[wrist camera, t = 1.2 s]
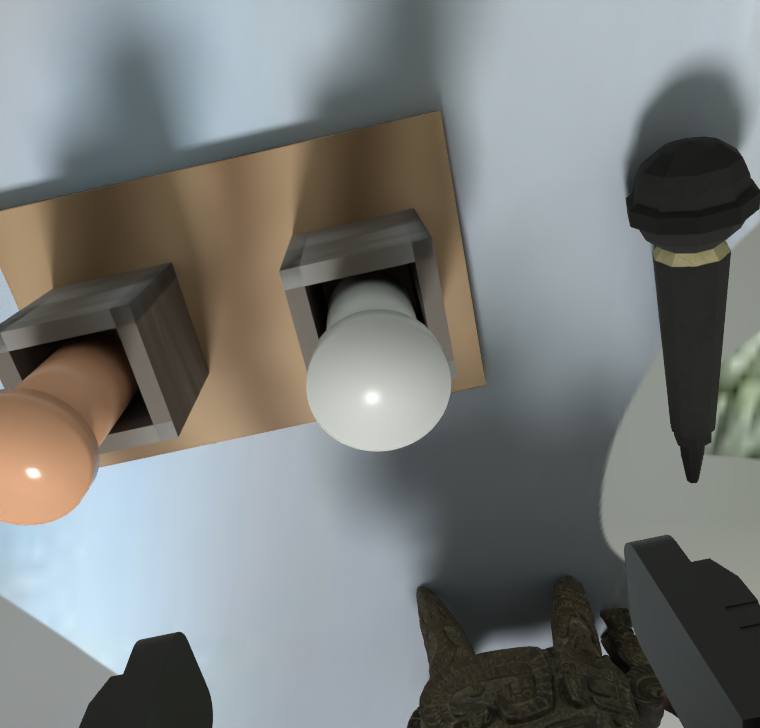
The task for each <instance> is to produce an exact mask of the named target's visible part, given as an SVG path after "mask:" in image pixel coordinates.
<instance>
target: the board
mask: <svg viewBox="0 0 760 728" xmlns="http://www.w3.org/2000/svg"><path fill="white" fill-rule="evenodd" d="M0 268H1V270H2V272H3V275H4V277H5V279H6V281H7V284H8V286H9V288H10V290H11V293H12V295H13V297H14V299H15V302H16V304H17V306H18V309H19V312H17V313H16V314H14V315H13V316H11V317H10V318H8V319H7V320H5V321H4V322H2V323H1V324H0V380H1V382H2V384H3V386H4V388H5V389H8V388H15V387H16V386H17V385H18V384H20V383H21V382H22V381H23V380H24V379H25V378H26V377H27V376H28V375H30V374H31V373H32V372H33V371H34V370H35V369H36V368H37V367H39V366H40V365H41V364H42V363H43V362H44V361H45V360H46V359H47V358H49V357H50V356H51V355H52V354H53V353H54V352H55V351H56V350H57V349H59V348H60V347H61V346H62V345H63V344H64V343H65V342H66V341H68V340H69V339H70V338H72V337H76V336H81V335H85V334H90V333H95V332H99V331H100V332H105V333H109V334H112V335H114V336H116V337H118V338H120V339H121V342H122V344H123V347H124V350H125V352H126V355H127V357H128V360H129V362H130V365H131V368H132V370H133V373H134V375H135V378H136V381H137V383H138V386H139V390H138V391H137V393H136V394H135V396H134V397H133V399H132V400H131V402H130V403H129V404H128V406H127V407H126V409H125V410H124V412H123V413H122V415H121V416H120V417H119V419H118V420H117V422H116V423H115V425H114V426H113V428H112V429H111V430H110V432H109V433H108V435H107V436H106V438H105V439H104V441H103V442H102V443H101V445H100V446H99V453H100V462H99V467H104V466H109V465H113V464H118V463H123V462H128V461H132V460H137V459H142V458H146V457H151V456H156V455H160V454H165V453H170V452H174V451H179V450H184V449H188V448H193V447H198V446H203V445H207V444H212V443H217V442H221V441H226V440H231V439H235V438H240V437H245V436H249V435H254V434H259V433H264V432H268V431H273V430H278V429H282V428H287V427H292V426H296V425H301V424H306V423H310V422H315V421H317V420H316V419H315V417H314V415H313V413H312V412H311V409H310V406H309V403H308V399H307V392H306V382H307V372H308V365H309V361H310V356H311V354H312V351H313V349H314V347H315V345H316V343H317V341H318V340H319V339H320V337H321V336H322V335H323V333H324V332H325V331H326V327H327V314H328V304H329V299H330V297H331V294H332V292H333V291H334V289H335V288H336V286H337V285H338V284H339V283H340V282H341V281H342V280H343V279H345V278H346V277H349V276H353V275H358V274H363V273H367V272H372V271H381V272H384V273H387V274H389V275H391V276H393V277H394V278H396V279H397V280H398V281H399V282H400V283H401V284H402V285H403V286H404V287H405V289H406V291H407V292H408V294H409V297H410V300H411V303H412V306H413V309H414V312H415V315H416V318H417V320H418V321H419V322H421V323H422V324H424V325H425V326H426V327H427V328H428V329H429V330H430V331H431V332H432V333H433V335H434V336H435V337H436V339H437V340H438V342H439V344H440V345H441V348H442V350H443V353H444V355H445V358H446V360H447V363H448V366H449V370H450V375H451V392H456V391H461V390H465V389H470V388H475V387H479V386H484V385H486V383H485V377H484V371H483V365H482V359H481V353H480V347H479V341H478V335H477V329H476V323H475V317H474V311H473V305H472V299H471V293H470V287H469V281H468V274H467V268H466V262H465V256H464V250H463V244H462V238H461V232H460V226H459V220H458V214H457V208H456V202H455V196H454V190H453V184H452V178H451V172H450V165H449V159H448V153H447V147H446V141H445V135H444V129H443V123H442V117H441V111H434V112H430V113H426V114H421V115H417V116H412V117H408V118H404V119H399V120H395V121H390V122H386V123H382V124H377V125H373V126H368V127H364V128H360V129H355V130H351V131H346V132H342V133H338V134H333V135H329V136H324V137H320V138H316V139H311V140H307V141H303V142H298V143H294V144H289V145H285V146H281V147H276V148H272V149H267V150H263V151H259V152H254V153H250V154H245V155H241V156H237V157H232V158H228V159H223V160H219V161H215V162H210V163H206V164H201V165H197V166H193V167H188V168H184V169H179V170H175V171H171V172H166V173H162V174H157V175H153V176H149V177H144V178H140V179H135V180H131V181H127V182H122V183H118V184H113V185H109V186H105V187H100V188H96V189H92V190H87V191H83V192H78V193H74V194H70V195H65V196H61V197H56V198H52V199H48V200H43V201H39V202H34V203H30V204H26V205H21V206H17V207H12V208H8V209H4V210H0ZM451 392H450V393H451Z"/></svg>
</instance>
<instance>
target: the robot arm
mask: <svg viewBox="0 0 760 728" xmlns="http://www.w3.org/2000/svg"><path fill="white" fill-rule="evenodd" d="M624 555H625V567H626V579H627V591H628V603H629V612H630V617H631V622H632V625H633V629H634V632H635V635H636V637H637V640H638V642H639V644H640V646H641V648H642V650H643V652H644V654H645V656H646V658H647V660H648V662H649V663H650V665H651V667H652V669H653V671H654V673H655V675H656V677H657V678H658V680H659V682H660V684H661V686H662V688H663V690H664V692H665V693H666V695H667V697H668V699H669V701H670V703H671V705H672V707H673V708H674V710H675V712H676V714H677V716H678V718H679V720H680V721H681V723H682V725H683V727H684V728H760V605H759V603H758V600H757V599H756V597H755V596H754V595H753V594H752V593H751V591H750V590H749V589H748V588H747V586H746V585H745V584H744V583H743V581H742V580H741V579H740V578H739V577H738V576H737V575H735V574H733V573H732V572H730V571H729V570H727V569H725V568H724V567H722V566H721V565H719V564H718V563H716V562H714V561H713V560H711V559H710V558H709V559H705V560H700V561H694V562H691V561H690V560H689V559H688V557H687V556H686V555H685V553H684V552H683V551H682V549H681V548H680V546H679V545H678V544H677V542H676V541H675V540H674V539H673V538H672V537H671V536H669V535H664V536H659V537H654V538H649V539H644V540H639V541H634V542H630V543H626V544H625V548H624ZM212 724H213V709H212V701H211V696H210V693H209V690H208V687H207V685H206V683H205V680H204V678H203V676H202V673H201V671H200V668H199V666H198V664H197V661H196V659H195V657H194V654H193V652H192V649H191V647H190V645H189V642H188V640H187V638H186V636H185V635H184V634H183V633H182V632H176V633H171V634H166V635H161V636H156V637H151V638H146V639H141V640H139V641H137V642H136V644H135V645H134V647H133V650H132V652H131V655H130V658H129V660H128V663H127V665H126V668H125V671H124V673H123V674H122V675H117V676H112V677H110V678H109V680H108V681H107V682H106V683H105V685H104V686H103V687H102V689H101V690H100V691H99V692H98V693H97V695H96V696H95V697H94V699H93V700H92V701H91V702H90V703H89V705H88V707H87V710H86V712H85V715H84V717H83V719H82V722H81V724H80V727H79V728H212Z"/></svg>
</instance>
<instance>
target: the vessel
mask: <svg viewBox="0 0 760 728" xmlns="http://www.w3.org/2000/svg"><path fill="white" fill-rule="evenodd" d="M584 594H585V592H584V590H583V586H582V585H581V584H580V583H578V582H577V581H575V580H574V579H573V578H572V577H571V576H566V577H565V578H563V579H561V580H559V581H558V582H557V584H556V587H555V591H554V602H553V604H552V611H551V628H552V637H553V647H549V648H547V649H540V648H539V647H532V646H528V647H517V648H509V649H501V650H495V651H489V652H485V653H480V654H477V655H475V653H474V651H473V649H472V646H471V645H470V643H469V641H468V639H467V638H466V636H465V634H464V632H463V630H462V628H461V627H460V625H459V624H458V623H457V621H456V619H455V618H454V617H453V615H452V614H451V613H450V611H449V610H448V608H447V607H446V605H445V604H444V603H443V602H442V601H441V600H440V599H439V598H438V597H436V596H435V594H433V593H432V592H431V591H429V590H427V589H425V588H418V589H417V596H416V597H417V604H418V613H419V618H420V619H419V622H420V628H421V632H422V635H423V638H424V645H425V648H426V651H427V656H428V662H429V674H430V680H429V681H428V682H427V684H426V685H425V687H424V689H423V692H422V694H421V696H420V704H419V707H418V708H417V709H416V710H415V711H414V712H413V714H412V716H411V718H410V720H409V722H408V725H407V728H658V727H659V725H660V722H661V719H662V717H663V714H664V710H666V711H668V712H670V713H672V714H674V715H675V716H676V717H678V716H677V714H676V712H675V710H674V708H673V707H672V705H671V703H670V701H669V699H668V697H667V695H666V693H665V692H664V690H663V688H662V686H661V684H660V682H659V680H658V678H657V677H656V675H655V673H654V671H653V669H652V667H651V665H650V663H649V662H648V660H647V658H646V656H645V654H644V652H643V650H642V648H641V646H640V644H639V642H638V640H637V637H636V635H634V631H633V630H632V629H630V628H629V629H626V628H625V626H629V627H630V626H632V622H631V617H630V612H629V610H628V609H612V610H604V611H601V612H600V616H601V618H602V619H603V620H604V622H605V623H606V625H607V627H608V628H609V630H610V632H609V633H608V634H607V635H608V636H606V637H604V638H603V639H602V640H601V643H602V645H603V647H604V649H605V650H606V652H607V653H608V655H609V656H608V655H604V656H602V651H601V646H600V642H599V638H598V634H597V631H596V629H595V626H594V620H595V619H594V615H593V614H592V611H591V608H590V605H589V603H588V600H587V599H586V598H585V597H584Z"/></svg>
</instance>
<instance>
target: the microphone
mask: <svg viewBox="0 0 760 728" xmlns="http://www.w3.org/2000/svg"><path fill="white" fill-rule="evenodd" d="M626 205H627V214H628V218H629V223H630V227H633V228H636V229H639V230H640V232H641V233H642V235H643V236H644V238H645V240H646V241H648V242H650V243H652V244H654V245H655V246H657V247H656V248H655V249H654V250H653V262H654V271H655V281H656V290H657V300H658V309H659V319H660V328H661V338H662V347H663V356H664V366H665V376H666V385H667V394H668V405H669V414H670V424H671V428H672V431H673V432H674V436H675V438H676V441H677V443H678V445H679V446H680V449H681V457H682V460H683V465H684V469H685V474H686V478H687V481H689V482H690V483H697V482H698V479H699V475H700V470H701V465H702V460H703V455H704V448H705V445H707V444H709V443H711V433H712V432H713V431H714V430H715V422H716V411H717V400H718V389H719V378H720V367H721V356H722V345H723V334H724V322H725V311H726V300H727V289H728V278H729V267H730V255H731V250H730V248H729V246H728V244H727V242H726V241H725V240H726V239H727V238H729V237H730V236H731V235H732V234H734V233H735V232H736V231H737V230H739V229H740V228H741V227H742V225H743V223H744V222H745V220H746V219H747V218H749V217H750V216H751V215H752V214H754V213H755V212H756V211H757V210H759V207H760V189H759V188H758V187H757V185H756V184H755V182H754V181H753V180H752V179H751V177H750V173H749V170H748V168H747V166H746V163H745V161H744V159H743V157H742V156H741V154H740V153H739V152H738V150H737V149H736V148H734V147H732V146H730V145H729V144H727V143H725V142H723V141H721V140H719V139H718V138H710V137H695V138H685V139H681V140H677V141H674V142H670V143H668V144H666V145H664V146H663V147H661V148H659V149H658V150H657V151H656V152H655V153H654V154H652V155H651V156H650V157H649V158H648V159H647V160H645V161H644V162H643V163H642V164H641V165H640V167H639V170H638V173H637V176H636V178H635V182H634V189H633V194H631V195H630V196H628V197H627V198H626Z"/></svg>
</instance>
